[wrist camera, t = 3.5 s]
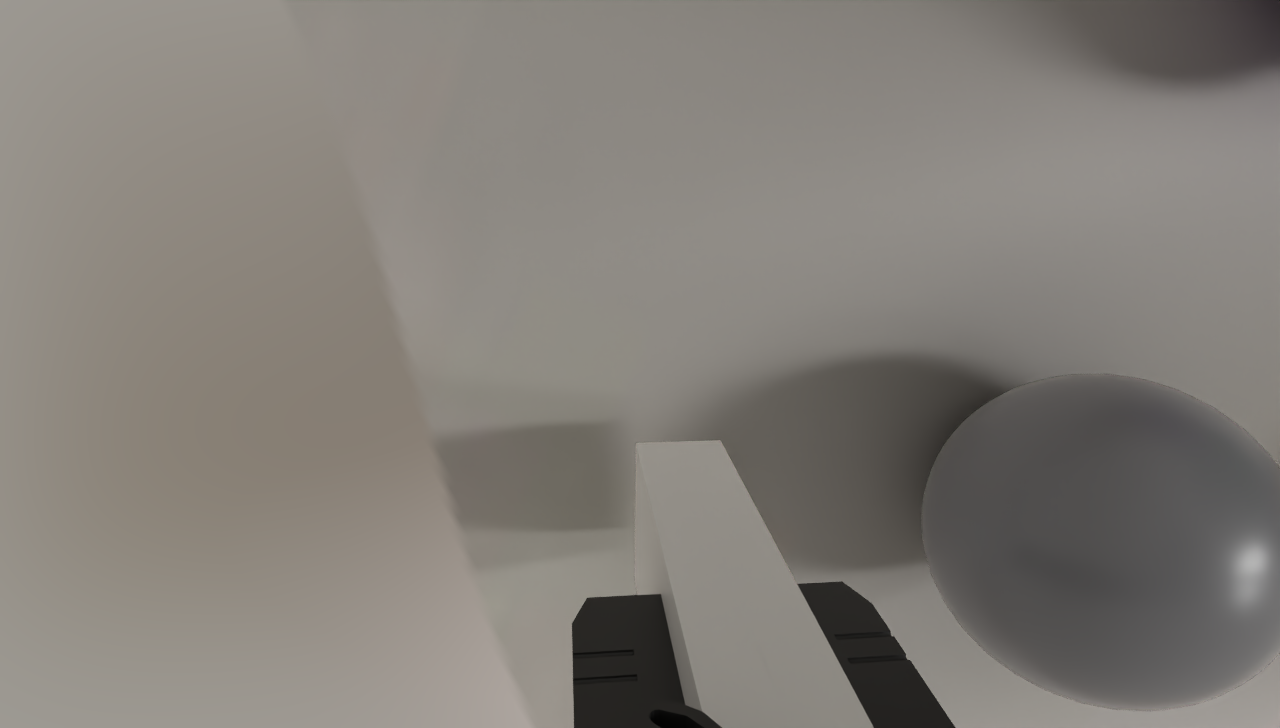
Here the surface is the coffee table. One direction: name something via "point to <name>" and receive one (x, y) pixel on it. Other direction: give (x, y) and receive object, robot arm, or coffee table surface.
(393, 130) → the coffee table surface
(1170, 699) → the gray ball
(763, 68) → the coffee table surface
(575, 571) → the coffee table surface
